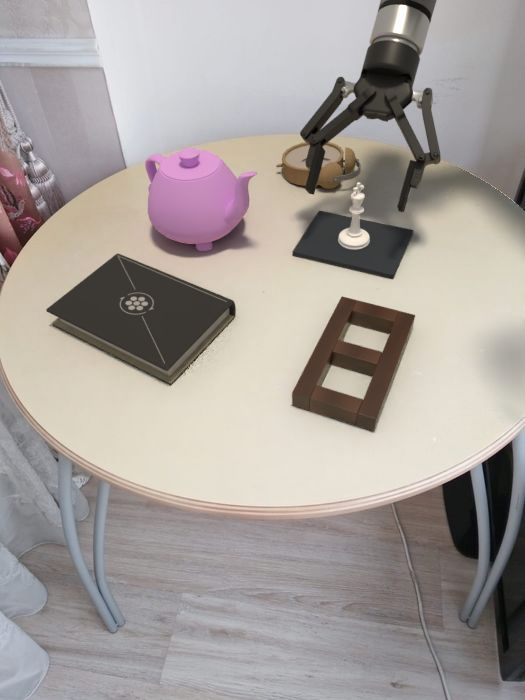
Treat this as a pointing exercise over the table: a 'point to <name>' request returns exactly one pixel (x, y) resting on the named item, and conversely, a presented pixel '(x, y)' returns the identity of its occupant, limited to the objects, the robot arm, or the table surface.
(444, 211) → the table surface
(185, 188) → the teapot
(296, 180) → the alarm clock
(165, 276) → the book
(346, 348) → the holder
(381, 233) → the mat
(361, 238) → the chess piece
